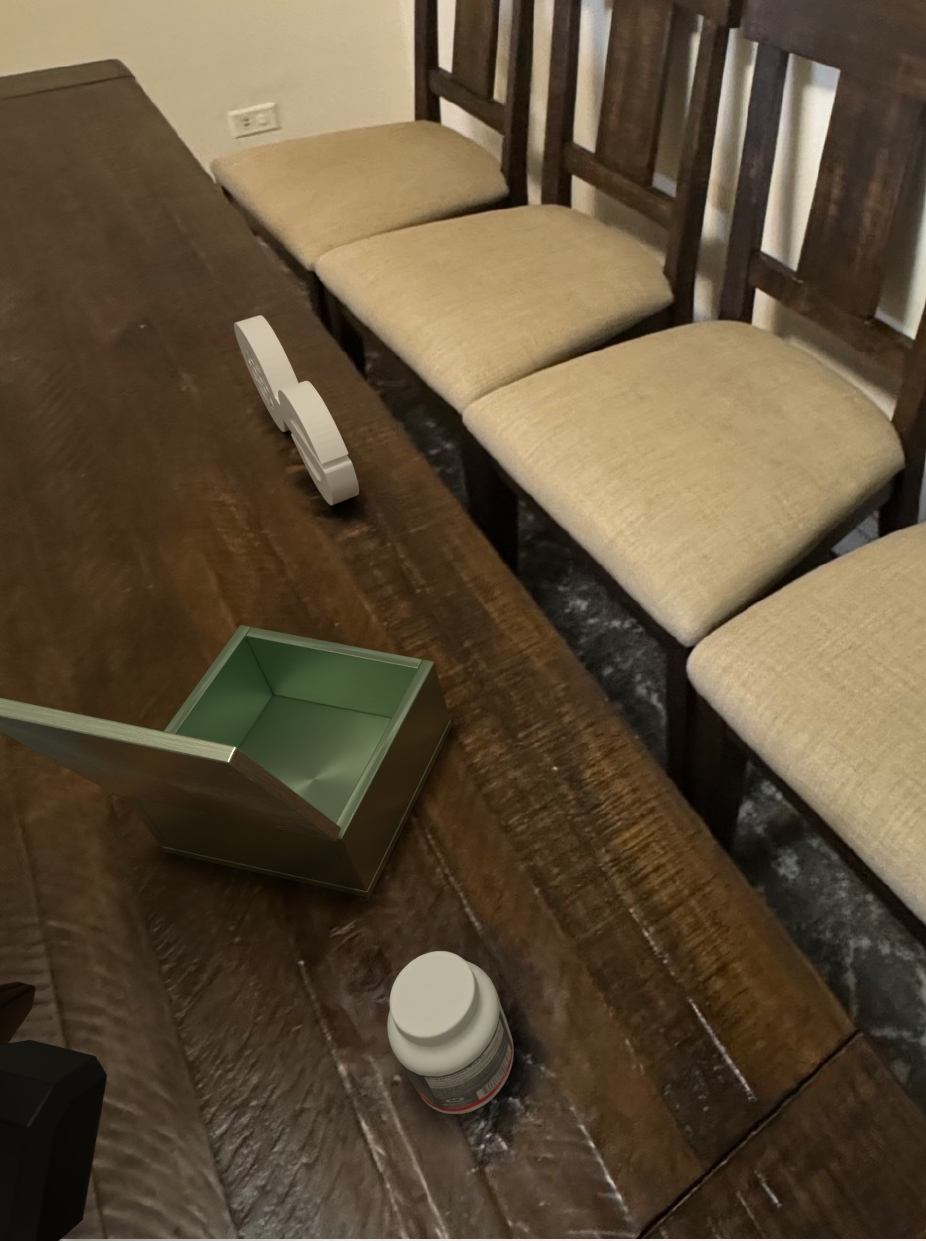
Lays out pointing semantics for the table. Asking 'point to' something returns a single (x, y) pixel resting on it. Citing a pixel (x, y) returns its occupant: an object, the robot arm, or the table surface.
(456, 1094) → the pill bottle
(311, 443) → the letter
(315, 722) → the bin
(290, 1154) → the table surface
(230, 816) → the bin lid
